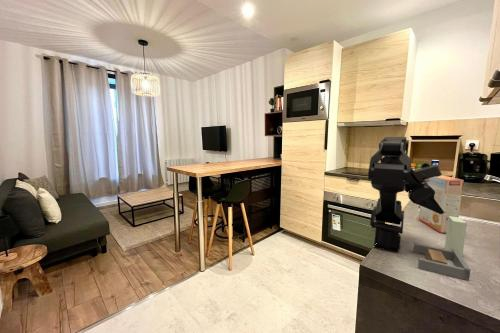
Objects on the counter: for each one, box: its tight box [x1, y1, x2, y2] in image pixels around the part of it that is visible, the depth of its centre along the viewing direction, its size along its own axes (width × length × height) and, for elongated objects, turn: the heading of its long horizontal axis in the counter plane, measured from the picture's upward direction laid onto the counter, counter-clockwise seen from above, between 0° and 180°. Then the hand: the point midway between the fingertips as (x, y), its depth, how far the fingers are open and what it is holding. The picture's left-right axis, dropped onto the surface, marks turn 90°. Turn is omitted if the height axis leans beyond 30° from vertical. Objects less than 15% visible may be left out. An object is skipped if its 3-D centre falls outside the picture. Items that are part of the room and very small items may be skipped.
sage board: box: [444, 216, 467, 258], centre depth 65 cm, size 3×5×11 cm, turn 148°
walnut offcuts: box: [425, 249, 448, 264], centre depth 60 cm, size 4×8×3 cm, turn 149°
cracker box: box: [418, 174, 465, 234], centre depth 85 cm, size 14×6×21 cm, turn 168°
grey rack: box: [412, 242, 471, 281], centre depth 60 cm, size 10×11×3 cm
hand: (439, 209), depth 66 cm, fingers open, 9 cm apart
